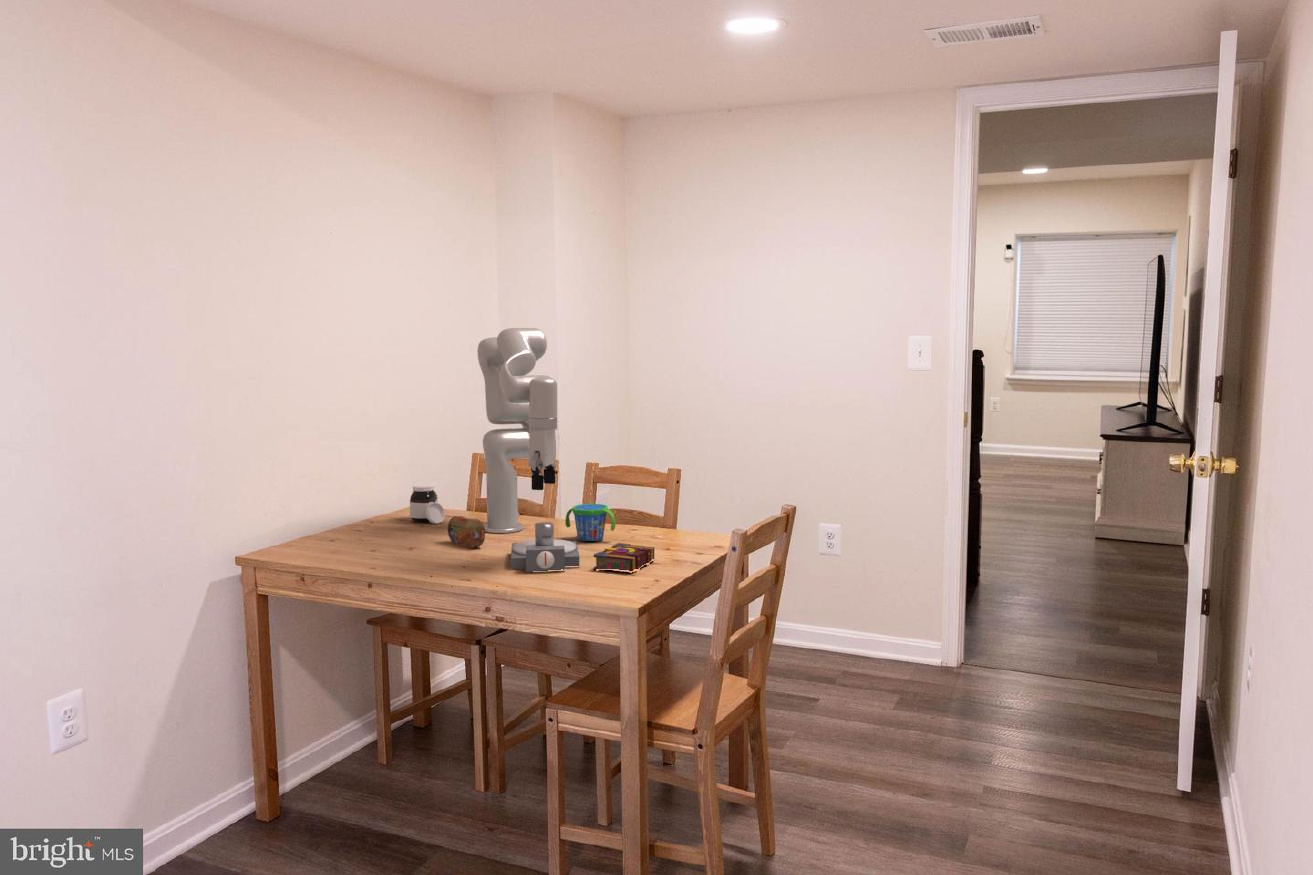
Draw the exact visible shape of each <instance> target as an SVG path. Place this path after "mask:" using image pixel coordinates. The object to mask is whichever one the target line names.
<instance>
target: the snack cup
mask: <svg viewBox="0 0 1313 875" xmlns="http://www.w3.org/2000/svg"><path fill="white" fill-rule="evenodd" d="M571 513H573V516H574V522H575V529H576V534H577V539H578V540H579V541H580V540H581V541H580V542H583V541H596V542H599V541H598V540H600V541H602V540H603V539H604V534H605V528H606V519H607V514H608V515H609V517H610V520H611V525H610V531H611V532H613V531H614V530H615V529H616V523H617V522H616V518H615V514H614V513H613V511H612V510H610V509H609V508H608V505H606V504H602V503H583V504H582V503H581V504H577V505H574V506H572V508H570V509H568V510H567V512H566V515H565V520H564V521H565V527H566V528H570V527H571V521H570V516H571Z"/></svg>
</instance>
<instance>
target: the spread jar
mask: <svg viewBox="0 0 1313 875" xmlns="http://www.w3.org/2000/svg"><path fill="white" fill-rule="evenodd" d="M438 498H439V497H438V494H437V492H436V491H435V485H434V484H431V483H428V484H427V483H421V484H419V483H418V484H414V485H412V493H411V495H410V500H409V515H410V519H411V521H412V522H414V523H417V524H427V523H431V524H434V525H437V524H440V523H442V522H443V521H444V520H445V516H446V515H445V514H446V513H445V509H444V507H443V506H442V505H441V504H440V503H439V502H438V501H439V500H438Z"/></svg>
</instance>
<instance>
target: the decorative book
mask: <svg viewBox="0 0 1313 875" xmlns="http://www.w3.org/2000/svg"><path fill="white" fill-rule="evenodd" d="M593 558H595V564H596V565H595V566H594V567H593V570H594V569H619V570H629V571H633V570H634V569H639V568H640V567H641V566H642V565H644V564H646V563H649V562H650V561H651V560H652V559H654V560H655V547H654V546H645V545H644V546H643V545H635V544H634V545H633V544H631V543H621V542H617V543H615V544H613V545H612V546H611V547H606V548H604V550H602V551H598V552H596V553H594V554H593Z"/></svg>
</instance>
